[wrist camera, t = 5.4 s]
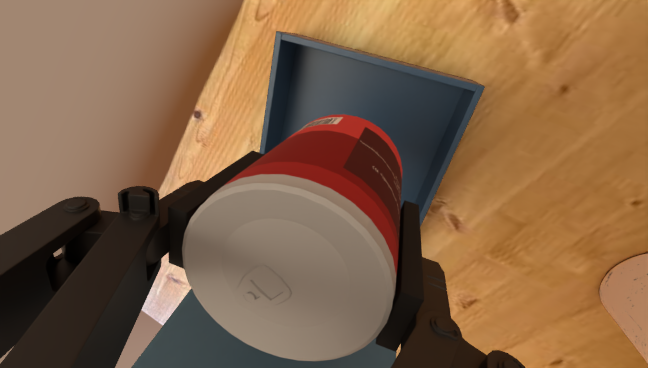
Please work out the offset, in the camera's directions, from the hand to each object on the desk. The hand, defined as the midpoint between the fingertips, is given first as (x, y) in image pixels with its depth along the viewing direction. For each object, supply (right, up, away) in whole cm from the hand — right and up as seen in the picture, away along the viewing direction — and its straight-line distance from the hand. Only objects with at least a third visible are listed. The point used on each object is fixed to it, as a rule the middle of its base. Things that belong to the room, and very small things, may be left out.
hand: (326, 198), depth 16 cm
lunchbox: (+3, +5, +14) cm, 15 cm away
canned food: (+1, +2, +4) cm, 4 cm away
